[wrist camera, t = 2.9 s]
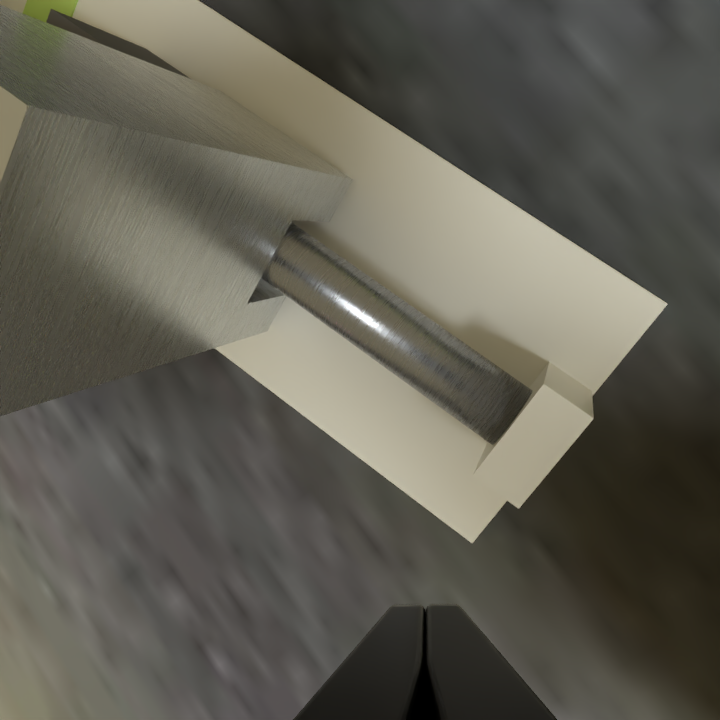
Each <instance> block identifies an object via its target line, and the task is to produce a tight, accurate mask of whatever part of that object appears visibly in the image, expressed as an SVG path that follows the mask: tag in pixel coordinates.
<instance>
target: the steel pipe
mask: <svg viewBox="0 0 720 720" xmlns="http://www.w3.org/2000/svg"><path fill="white" fill-rule="evenodd" d="M261 278H262V279H263V280H265V281H266V282H267V283H269V284H270V285H272V286H273V287H274V288H276V289H277V290H279V291H280V292H281V293H283V294H284V295H285V296H287V297H288V298H290V299H291V300H292V301H294V302H295V303H296V304H298V305H299V306H301V307H302V308H303V309H305V310H306V311H308V312H309V313H310V314H312V315H313V316H314V317H316V318H317V319H319V320H320V321H321V322H323V323H324V324H325V325H327V326H328V327H330V328H331V329H332V330H334V331H335V332H337V333H338V334H339V335H341V336H342V337H343V338H345V339H346V340H348V341H349V342H350V343H352V344H353V345H355V346H356V347H357V348H359V349H360V350H361V351H363V352H364V353H366V354H367V355H368V356H370V357H371V358H372V359H374V360H375V361H377V362H378V363H379V364H381V365H382V366H384V367H385V368H386V369H388V370H389V371H390V372H392V373H393V374H395V375H396V376H397V377H399V378H400V379H402V380H403V381H404V382H406V383H407V384H408V385H410V386H411V387H413V388H414V389H415V390H417V391H418V392H419V393H421V394H422V395H424V396H425V397H426V398H428V399H429V400H431V401H432V402H433V403H435V404H436V405H437V406H439V407H440V408H442V409H443V410H444V411H446V412H447V413H448V414H450V415H451V416H453V417H454V418H455V419H457V420H458V421H460V422H461V423H462V424H464V425H465V426H466V427H468V428H469V429H471V430H472V431H473V432H475V433H476V434H478V435H479V436H480V437H482V438H483V439H484V440H486V441H487V442H489V443H490V444H491V445H494V444H495V443H496V442H497V441H498V440H499V438H500V437H501V436H502V435H503V434H504V433H505V431H506V430H507V429H508V427H509V426H510V425H511V424H512V422H513V421H514V420H515V418H516V417H517V415H518V414H519V413H520V411H521V410H522V408H523V407H524V405H525V404H526V402H527V401H528V399H529V397H530V396H531V394H532V390H531V389H530V388H528V387H527V386H525V385H524V384H523V383H521V382H520V381H518V380H517V379H515V378H514V377H513V376H511V375H510V374H508V373H507V372H505V371H504V370H503V369H501V368H500V367H498V366H497V365H495V364H494V363H493V362H491V361H490V360H488V359H487V358H485V357H484V356H482V355H481V354H480V353H478V352H477V351H475V350H474V349H472V348H471V347H470V346H468V345H467V344H465V343H464V342H462V341H461V340H460V339H458V338H457V337H455V336H454V335H452V334H451V333H450V332H448V331H447V330H445V329H444V328H442V327H441V326H440V325H438V324H437V323H435V322H434V321H432V320H431V319H430V318H428V317H427V316H425V315H424V314H422V313H421V312H419V311H418V310H417V309H415V308H414V307H412V306H411V305H409V304H408V303H407V302H405V301H404V300H402V299H401V298H399V297H398V296H397V295H395V294H394V293H392V292H391V291H389V290H388V289H387V288H385V287H384V286H382V285H381V284H379V283H378V282H377V281H375V280H374V279H372V278H371V277H369V276H368V275H367V274H365V273H364V272H362V271H361V270H359V269H358V268H356V267H355V266H354V265H352V264H351V263H349V262H348V261H346V260H345V259H344V258H342V257H341V256H339V255H338V254H336V253H335V252H334V251H332V250H331V249H329V248H328V247H326V246H325V245H324V244H322V243H321V242H319V241H318V240H316V239H315V238H314V237H312V236H311V235H309V234H308V233H306V232H305V231H304V230H302V229H301V228H299V227H298V226H296V225H295V224H293V223H292V222H291V224H290V226H289V227H288V229H287V231H286V233H285V235H284V237H283V238H282V240H281V242H280V244H279V246H278V248H277V249H276V251H275V253H274V255H273V257H272V259H271V260H270V262H269V264H268V266H267V268H266V270H265V271H264V273H263V275H262V277H261Z"/></svg>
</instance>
